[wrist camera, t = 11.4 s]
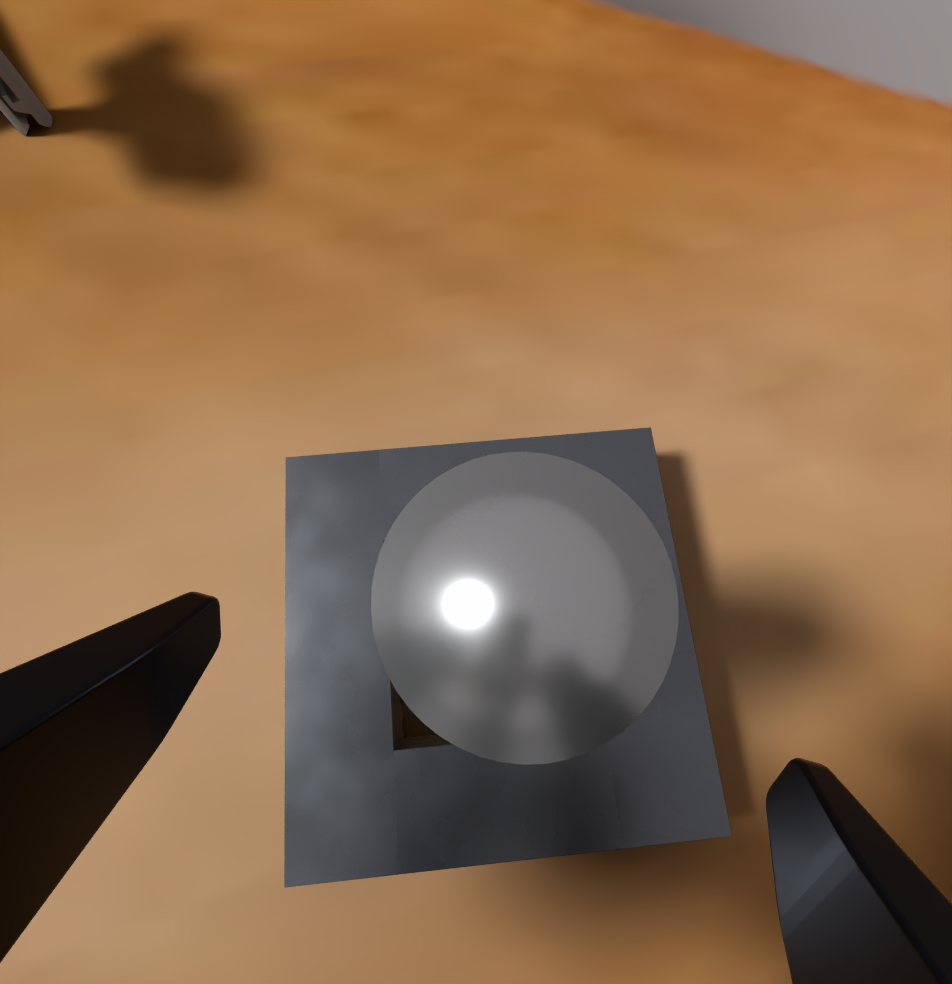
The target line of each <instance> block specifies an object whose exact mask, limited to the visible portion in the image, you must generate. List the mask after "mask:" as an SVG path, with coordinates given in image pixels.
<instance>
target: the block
mask: <svg viewBox="0 0 952 984" xmlns="http://www.w3.org/2000/svg"><path fill="white" fill-rule="evenodd" d="M506 452H534V453H544V454H549V455H554V456H558V457H562V458H566V459H568V460H571V461H574V462H577V463H580V464H582V465H584V466H586V467H588V468H590V469H592V470H594V471H596V472H598V473H600V474H601V475H603V476H604V477H606V478H607V479H609V480H610V481H612V482H613V483H615V484H616V485H617V486H618V487H619V488H620V489H622V490H623V491H624V492H625V493H626V494H628V495H629V496H630V497H631V498H632V500H633V501H634V502H635V503H636V504H637V505H638V506H639V507H640V508H641V509H642V510H643V512H644V513H645V515H646V516H647V517H648V519H649V520H650V522H651V523H652V524H653V526H654V527H655V529H656V531H657V533H658V535H659V537H660V538H661V540H662V542H663V544H664V547H665V549H666V552H667V554H668V557H669V559H670V562H671V565H672V569H673V573H674V577H675V580H676V587H677V594H678V616H679V622H678V630H677V638H676V644H675V648H674V652H673V655H672V659H671V663H670V665H669V668H668V670H667V673H666V675H665V677H664V680H663V682H662V684H661V685H660V687H659V689H658V691H657V692H656V694H655V696H654V697H653V699H652V701H651V702H650V703H649V704H648V706H647V707H646V708H645V709H644V711H643V712H642V713H641V714H640V716H639V717H638V718H637V719H636V720H635V721H634V722H633V723H632V724H630V725H629V726H628V727H627V728H626V729H625V730H624V731H623V732H622V733H620V734H619V735H617V736H616V737H614V738H613V739H612V740H610V741H609V742H607V743H606V744H604V745H602V746H600V747H598V748H596V749H594V750H592V751H590V752H588V753H586V754H583V755H580V756H577V757H574V758H571V759H568V760H564V761H559V762H553V763H548V764H529V765H521V764H512V763H503V762H498V761H494V760H491V759H487V758H483V757H479V756H477V755H475V754H472V753H470V752H467V751H465V750H463V749H460V748H458V747H457V746H455V745H453V744H452V743H450V742H448V741H447V740H445V739H443V738H441V737H440V736H439V735H438V734H435V735H425V736H415V737H406V738H403V723H402V704H401V697H400V695H399V694H398V693H397V691H396V690H395V688H394V686H393V684H392V682H391V680H390V679H389V677H388V675H387V673H386V671H385V668H384V666H383V663H382V661H381V658H380V655H379V653H378V649H377V645H376V641H375V637H374V633H373V625H372V616H371V589H372V583H373V577H374V570H375V567H376V563H377V560H378V556H379V553H380V550H381V547H382V545H383V543H384V541H385V538H386V536H387V534H388V532H389V530H390V528H391V527H392V525H393V523H394V522H395V520H396V518H397V517H398V515H399V514H400V513H401V511H402V510H403V509H404V508H405V506H406V505H407V504H408V503H409V501H410V500H411V499H412V498H413V497H414V496H415V495H416V494H417V493H418V492H419V491H420V490H421V489H423V488H424V487H425V486H426V485H428V484H429V483H430V482H431V481H433V480H434V479H435V478H437V477H438V476H440V475H441V474H443V473H445V472H447V471H448V470H450V469H452V468H454V467H456V466H458V465H460V464H463V463H465V462H468V461H470V460H473V459H476V458H480V457H484V456H487V455H492V454H499V453H506ZM729 836H732V834H731V829H730V824H729V819H728V814H727V809H726V804H725V799H724V794H723V789H722V784H721V779H720V774H719V769H718V764H717V759H716V754H715V749H714V744H713V738H712V733H711V728H710V723H709V718H708V713H707V708H706V703H705V698H704V693H703V688H702V683H701V678H700V673H699V668H698V663H697V658H696V653H695V648H694V643H693V638H692V633H691V628H690V623H689V618H688V613H687V608H686V603H685V597H684V592H683V587H682V582H681V577H680V572H679V567H678V562H677V557H676V552H675V547H674V542H673V537H672V532H671V527H670V522H669V517H668V512H667V507H666V502H665V497H664V492H663V487H662V482H661V477H660V472H659V467H658V462H657V457H656V451H655V446H654V441H653V436H652V431H651V428H639V429H627V430H615V431H603V432H591V433H578V434H566V435H554V436H542V437H530V438H518V439H506V440H493V441H481V442H469V443H457V444H445V445H433V446H420V447H408V448H396V449H384V450H372V451H360V452H348V453H335V454H323V455H311V456H299V457H287V458H286V557H285V887H293V886H302V885H311V884H319V883H328V882H337V881H345V880H354V879H363V878H372V877H380V876H389V875H398V874H406V873H415V872H424V871H432V870H441V869H450V868H459V867H467V866H476V865H485V864H493V863H502V862H511V861H520V860H528V859H537V858H546V857H554V856H563V855H572V854H581V853H589V852H598V851H607V850H615V849H624V848H633V847H641V846H650V845H659V844H668V843H676V842H685V841H694V840H702V839H711V838H720V837H729Z"/></svg>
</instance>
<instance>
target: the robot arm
mask: <svg viewBox="0 0 952 984" xmlns="http://www.w3.org/2000/svg"><path fill="white" fill-rule="evenodd" d="M220 638H221V626H220V605H219V601H218V600H217V598H215V597H213V596H209V595H206V594H202V593H198V592H189V593H186V594H183V595H181V596H179V597H177V598H174V599H172V600H170V601H167V602H165V603H163V604H160V605H158V606H156V607H153V608H151V609H149V610H146V611H144V612H142V613H139V614H137V615H135V616H132V617H130V618H128V619H125V620H123V621H121V622H118V623H116V624H114V625H112V626H109V627H107V628H105V629H102V630H100V631H98V632H95V633H93V634H91V635H88V636H86V637H84V638H81V639H79V640H77V641H74V642H72V643H70V644H67V645H65V646H63V647H60V648H58V649H56V650H54V651H51V652H49V653H47V654H44V655H42V656H40V657H37V658H35V659H33V660H30V661H28V662H26V663H23V664H21V665H19V666H16V667H14V668H12V669H9V670H7V671H5V672H2V673H0V962H1V961H2V960H3V958H4V957H5V956H6V954H7V953H8V952H9V950H10V949H11V947H12V946H13V945H14V943H15V942H16V941H17V939H18V938H19V937H20V935H21V934H22V932H23V931H24V930H25V928H26V927H27V926H28V924H29V923H30V922H31V920H32V919H33V917H34V916H35V915H36V913H37V912H38V911H39V909H40V908H41V907H42V905H43V904H44V902H45V901H46V900H47V898H48V897H49V896H50V894H51V893H52V892H53V890H54V889H55V887H56V886H57V885H58V883H59V882H60V881H61V879H62V878H63V877H64V875H65V874H66V872H67V871H68V870H69V868H70V867H71V866H72V864H73V863H74V861H75V860H76V859H77V857H78V856H79V855H80V853H81V852H82V851H83V849H84V848H85V846H86V845H87V844H88V842H89V841H90V840H91V838H92V837H93V836H94V834H95V833H96V831H97V830H98V829H99V827H100V826H101V825H102V823H103V822H104V821H105V819H106V818H107V816H108V815H109V814H110V812H111V811H112V810H113V808H114V807H115V806H116V804H117V803H118V801H119V800H120V799H121V797H122V796H123V795H124V793H125V792H126V791H127V789H128V788H129V786H130V785H131V784H132V782H133V781H134V780H135V778H136V777H137V775H138V774H139V773H140V771H141V770H142V769H143V767H144V766H145V765H146V763H147V762H148V760H149V759H150V758H151V756H152V755H153V754H154V752H155V751H156V749H157V748H158V746H159V745H160V744H161V742H162V741H163V739H164V738H165V736H166V735H167V733H168V731H169V730H170V728H171V727H172V725H173V723H174V722H175V720H176V718H177V717H178V715H179V713H180V711H181V710H182V708H183V706H184V705H185V703H186V701H187V700H188V698H189V696H190V694H191V693H192V691H193V689H194V688H195V686H196V684H197V683H198V681H199V679H200V677H201V676H202V674H203V672H204V671H205V669H206V667H207V666H208V664H209V662H210V660H211V659H212V657H213V655H214V654H215V652H216V650H217V648H218V646H219V642H220ZM766 810H767V819H768V828H769V836H770V845H771V854H772V863H773V872H774V880H775V889H776V898H777V905H778V912H779V919H780V924H781V929H782V935H783V940H784V945H785V949H786V954H787V959H788V964H789V968H790V973H791V978H792V982H793V984H952V904H951V903H950V902H949V901H948V900H947V899H946V897H945V896H944V895H943V894H942V893H941V892H940V891H939V890H938V889H937V888H936V886H935V885H934V884H933V883H932V882H931V881H930V880H929V879H928V878H927V877H926V875H925V874H924V873H923V872H922V871H921V870H920V869H919V868H918V867H917V866H916V864H915V863H914V862H913V861H912V860H911V859H910V858H909V857H908V856H907V855H906V853H905V852H904V851H903V850H902V849H901V848H900V847H899V846H898V845H897V844H896V842H895V841H894V840H893V839H892V838H891V837H890V836H889V835H888V834H887V833H886V831H885V830H884V829H883V828H882V827H881V826H880V825H879V824H878V823H877V821H876V820H875V819H874V818H873V817H872V816H871V815H870V814H869V813H868V812H867V810H866V809H865V808H864V807H863V806H862V805H861V804H860V803H859V802H858V801H857V799H856V798H855V797H854V796H853V795H852V794H851V793H850V792H849V791H848V790H847V788H846V787H845V786H844V785H843V784H842V783H841V782H840V781H839V780H838V779H837V777H836V776H835V775H834V774H833V773H832V772H831V771H830V770H829V769H828V768H827V767H825V766H824V765H822V764H819V763H815V762H812V761H808V760H804V759H801V758H795V759H793V760H791V761H790V762H789V763H788V764H787V766H786V767H785V768H784V770H783V771H782V772H781V774H780V775H779V776H778V778H777V779H776V780H775V782H774V783H773V784H772V786H771V787H770V789H769V791H768V793H767V798H766Z"/></svg>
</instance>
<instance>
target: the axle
mask: <svg viewBox="0 0 952 984" xmlns="http://www.w3.org/2000/svg"><path fill="white" fill-rule="evenodd" d="M371 616H372V625H373V633H374V637H375V641H376V645H377V649H378V653H379V655H380V658H381V661H382V663H383V666H384V668H385V671H386V673H387V675H388V677H389V679H390V680H391V682H392V684H393V686H394V688H395V690H396V691H397V693H398V694H399V695H400V697H401V698H402V699H403V701H404V702H405V703H406V705H407V706H408V708H409V709H410V710H411V711H412V712H413V713H414V714H415V715H416V716H417V717H418V718H419V719H420V720H421V721H422V722H423V723H424V724H425V725H426V726H427V727H429V728H430V729H431V730H432V731H434V732H435V733H436V734H438V735H439V736H440V737H441V738H443V739H445V740H447V741H448V742H450V743H452V744H453V745H455V746H457V747H458V748H460V749H463V750H465V751H467V752H470V753H472V754H475V755H477V756H479V757H483V758H487V759H491V760H494V761H498V762H503V763H512V764H521V765H529V764H548V763H553V762H559V761H564V760H568V759H571V758H574V757H577V756H580V755H583V754H586V753H588V752H590V751H592V750H594V749H596V748H598V747H600V746H602V745H604V744H606V743H607V742H609V741H610V740H612V739H613V738H614V737H616V736H617V735H619V734H620V733H622V732H623V731H624V730H625V729H626V728H627V727H628V726H629V725H630V724H632V723H633V722H634V721H635V720H636V719H637V718H638V717H639V716H640V714H641V713H642V712H643V711H644V709H645V708H646V707H647V706H648V704H649V703H650V702H651V701H652V699H653V697H654V696H655V694H656V692H657V691H658V689H659V687H660V685H661V684H662V682H663V680H664V677H665V675H666V673H667V670H668V668H669V665H670V663H671V659H672V655H673V652H674V648H675V644H676V638H677V630H678V622H679V616H678V594H677V587H676V580H675V577H674V573H673V569H672V565H671V562H670V559H669V557H668V554H667V552H666V549H665V547H664V544H663V542H662V540H661V538H660V537H659V535H658V533H657V531H656V529H655V527H654V526H653V524H652V523H651V522H650V520H649V519H648V517H647V516H646V515H645V513H644V512H643V510H642V509H641V508H640V507H639V506H638V505H637V504H636V503H635V502H634V501H633V500H632V498H631V497H630V496H629V495H628V494H626V493H625V492H624V491H623V490H622V489H620V488H619V487H618V486H617V485H616V484H615V483H613V482H612V481H610V480H609V479H607V478H606V477H604V476H603V475H601V474H600V473H598V472H596V471H594V470H592V469H590V468H588V467H586V466H584V465H582V464H580V463H577V462H574V461H571V460H568V459H566V458H562V457H558V456H554V455H549V454H544V453H534V452H506V453H499V454H492V455H487V456H484V457H480V458H476V459H473V460H470V461H468V462H465V463H463V464H460V465H458V466H456V467H454V468H452V469H450V470H448V471H447V472H445V473H443V474H441V475H440V476H438V477H437V478H435V479H434V480H433V481H431V482H430V483H429V484H428V485H426V486H425V487H424V488H423V489H421V490H420V491H419V492H418V493H417V494H416V495H415V496H414V497H413V498H412V499H411V500H410V501H409V503H408V504H407V505H406V506H405V508H404V509H403V510H402V511H401V513H400V514H399V515H398V517H397V518H396V520H395V522H394V523H393V525H392V527H391V528H390V530H389V532H388V534H387V536H386V538H385V541H384V543H383V545H382V547H381V550H380V553H379V556H378V560H377V563H376V567H375V570H374V577H373V583H372V589H371Z"/></svg>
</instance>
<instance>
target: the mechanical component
mask: <svg viewBox="0 0 952 984" xmlns="http://www.w3.org/2000/svg"><path fill="white" fill-rule="evenodd" d="M0 110H1V111H2V113H3V114H4V115H5V116H6V117H7V118H8V120H9V121H10V122H11V123H12V124H13V125H14V127H15V128H16V129H17V130H18V131H19V132H20V133H21V134H22V135H25V136H26V134H27V132H28V129H29V123H28V120H27V118H26V115H25V113H27V114H31V115H32V116H33V117H34V118H35V119H36V121H37V122H38V123H39V124H40V125H43V126H46V127H51V125H52V121H53V119H52V116H51V114H50V113H49V112H48V110H47V109H46V108H45V107H44V105H43V104H42V103H41V101H40V100H39V99H38V97H37V96H36V95H35V94H34V92H33V91H32V90H31V88H30V87H29V86H28V84H27V83H26V82H25V81H24V79H23V78H22V77H21V75H20V74H19V73H18V72H17V70H16V69H15V68H14V66H13V65H12V64H11V62H10V61H9V60H8V59H7V57H6V56H5V55H4V53H3V52H2V51H1V49H0Z"/></svg>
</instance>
